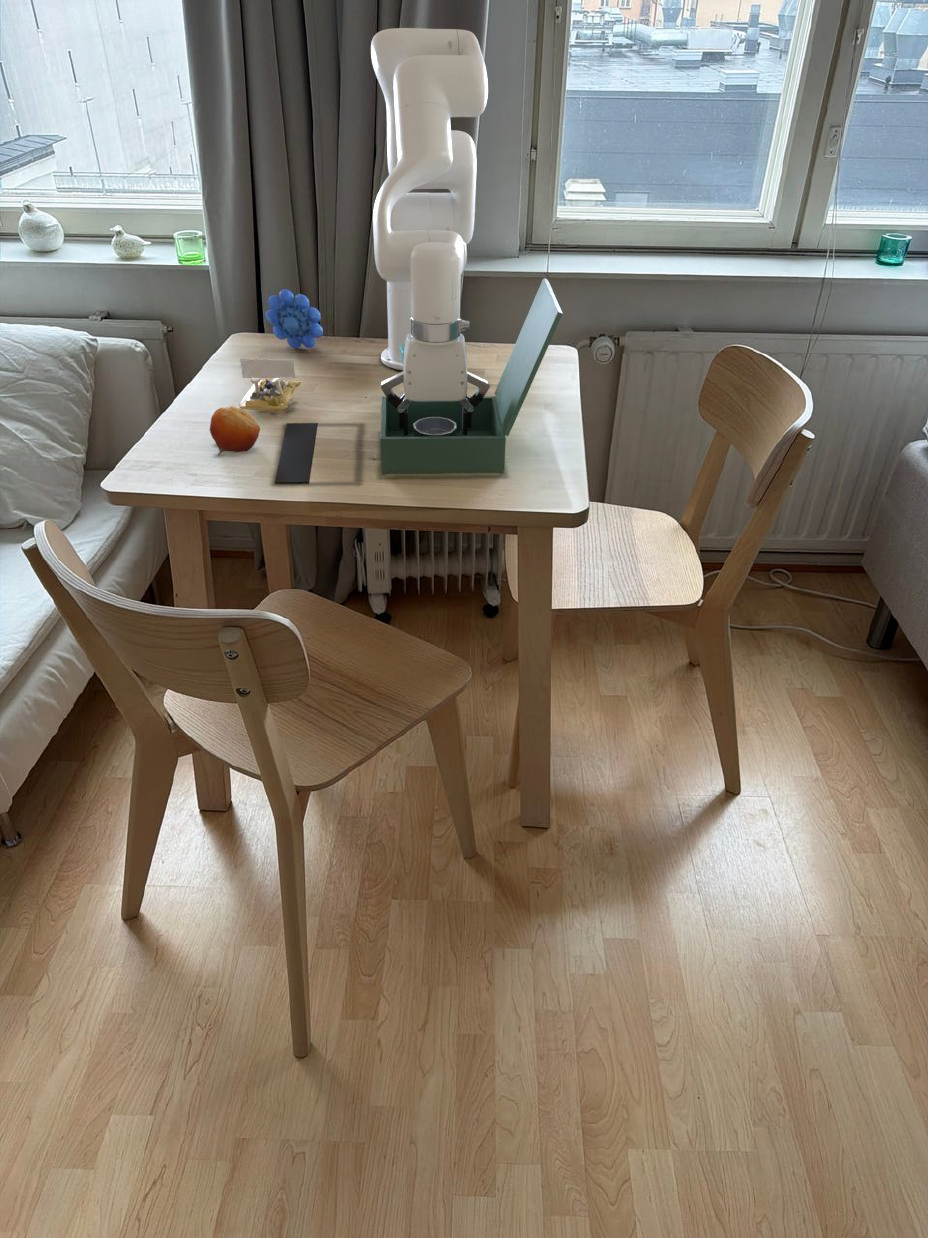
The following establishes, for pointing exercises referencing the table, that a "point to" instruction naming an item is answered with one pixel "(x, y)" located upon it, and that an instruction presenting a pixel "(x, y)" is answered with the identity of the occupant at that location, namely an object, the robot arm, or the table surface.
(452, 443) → the open green box
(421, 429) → the bowl
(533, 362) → the lid
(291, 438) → the mat
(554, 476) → the table surface
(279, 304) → the blue flower
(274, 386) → the cake
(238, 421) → the fruit
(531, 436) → the table surface
